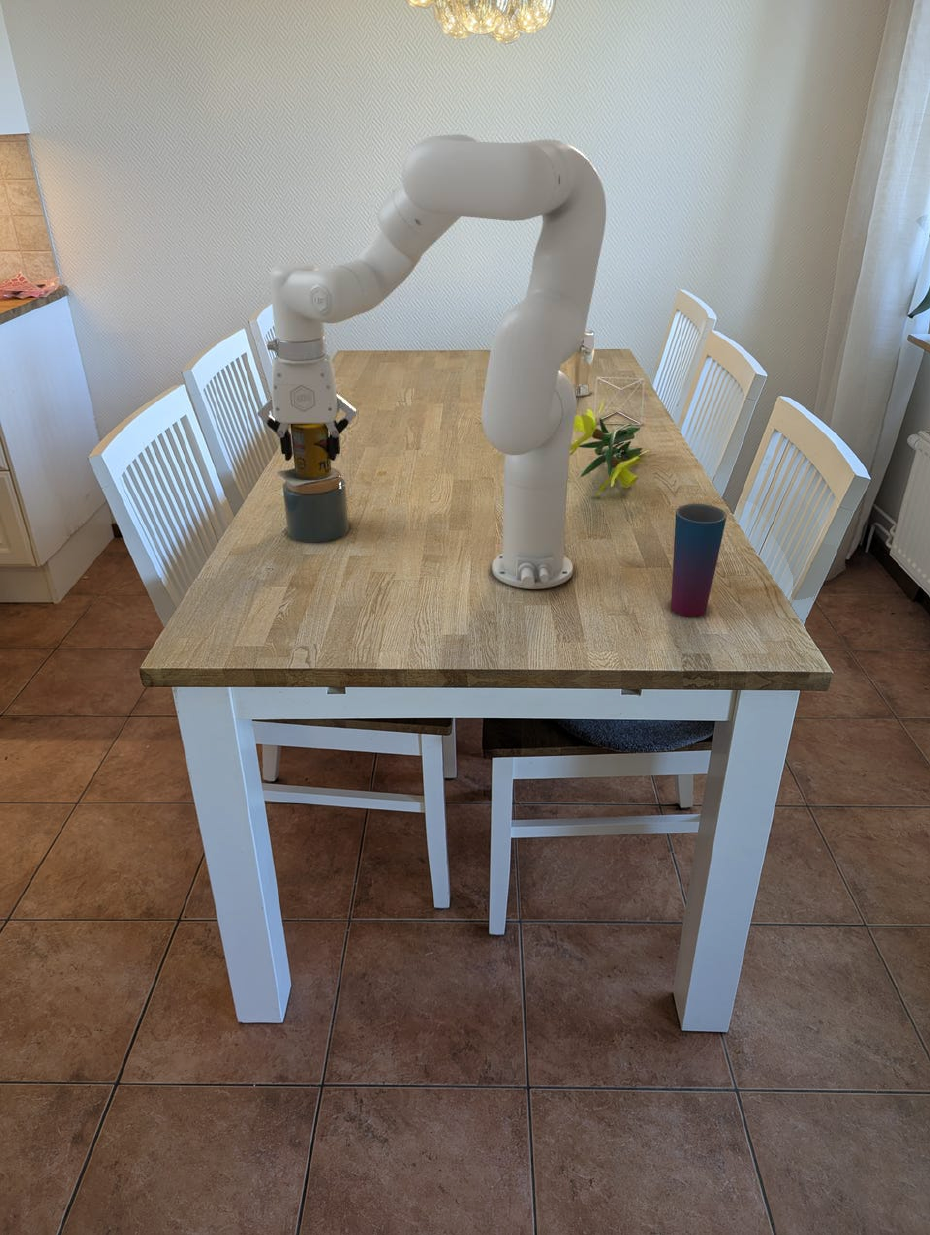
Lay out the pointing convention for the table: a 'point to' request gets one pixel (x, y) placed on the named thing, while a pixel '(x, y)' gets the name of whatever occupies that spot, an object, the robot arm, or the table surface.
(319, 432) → the yellow coffee bottle
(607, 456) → the daffodil flowers
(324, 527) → the blue jar
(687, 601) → the cup
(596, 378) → the geometric polyhedron
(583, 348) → the beer glass
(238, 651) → the table surface
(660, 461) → the table surface
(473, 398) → the table surface
